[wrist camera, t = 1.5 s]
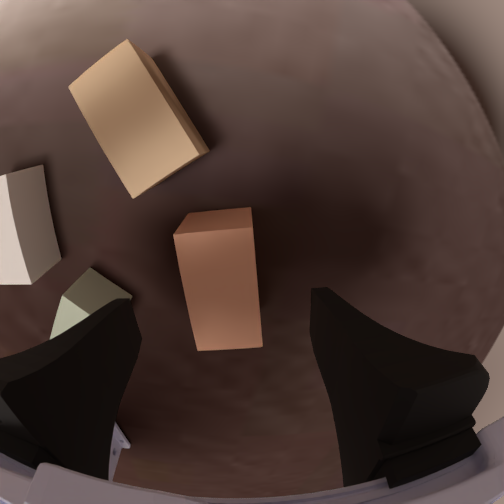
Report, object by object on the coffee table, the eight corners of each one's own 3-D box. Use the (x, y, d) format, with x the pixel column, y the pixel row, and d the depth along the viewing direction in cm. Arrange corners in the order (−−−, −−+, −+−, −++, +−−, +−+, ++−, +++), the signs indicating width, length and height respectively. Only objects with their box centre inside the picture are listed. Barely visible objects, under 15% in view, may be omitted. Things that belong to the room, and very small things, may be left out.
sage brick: (104, 351, 18) (86, 385, 15) (68, 327, 18) (45, 358, 14) (133, 294, 17) (112, 329, 13) (91, 266, 16) (62, 295, 13)
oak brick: (210, 151, 14) (199, 154, 10) (157, 184, 14) (133, 199, 11) (152, 58, 12) (127, 38, 8) (103, 94, 12) (68, 86, 9)
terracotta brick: (259, 307, 17) (262, 346, 14) (205, 311, 17) (197, 350, 14) (251, 206, 15) (253, 227, 12) (188, 212, 15) (173, 234, 12)
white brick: (62, 258, 16) (31, 284, 12) (30, 260, 16) (-1, 284, 12) (44, 164, 13) (5, 174, 10) (11, 174, 13) (-26, 186, 10)
